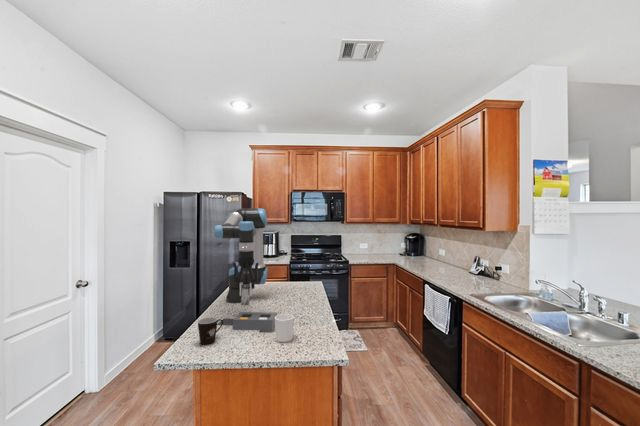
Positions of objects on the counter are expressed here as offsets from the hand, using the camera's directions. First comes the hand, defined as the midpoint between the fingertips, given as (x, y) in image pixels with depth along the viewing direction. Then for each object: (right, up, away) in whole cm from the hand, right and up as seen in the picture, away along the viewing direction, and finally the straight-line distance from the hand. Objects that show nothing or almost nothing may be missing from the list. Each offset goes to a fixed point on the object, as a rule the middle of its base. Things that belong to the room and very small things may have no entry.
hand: (246, 295), depth 151 cm
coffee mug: (-12, -17, -18) cm, 27 cm away
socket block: (+5, -17, 0) cm, 18 cm away
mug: (+22, -17, -14) cm, 31 cm away
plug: (-1, -5, 0) cm, 5 cm away
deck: (-11, -17, +5) cm, 21 cm away
